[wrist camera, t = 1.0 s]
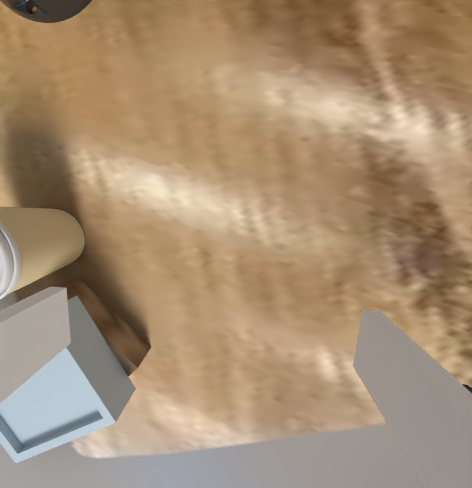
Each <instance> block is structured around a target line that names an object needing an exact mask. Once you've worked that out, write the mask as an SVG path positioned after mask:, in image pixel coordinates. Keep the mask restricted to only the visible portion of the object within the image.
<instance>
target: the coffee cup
mask: <svg viewBox="0 0 472 488" xmlns="http://www.w3.org/2000/svg"><path fill="white" fill-rule="evenodd" d="M84 244H85V237H84V233H83V230H82V227H81V226H80V224H79V223H78V221H77V220H76V219H75V218H74V217H73V216H72V215H70V214H69V213H67V212H65V211H62V210H59V209H50V208H18V207H0V299H1V298H3V297H4V296H6V295H7V294H9V293H11V292H13V291H15V290H18V289H20V288H22V287H24V286H26V285H28V284H30V283H32V282H34V281H36V280H38V279H40V278H42V277H44V276H46V275H48V274H50V273H52V272H55V271H57V270H59V269H61V268H63V267H65V266H66V265H68V264H70V263H72V262H74V261H75V260H76V259H77V258H78V257H79V256H80V255H81V253H82V251H83V249H84Z"/></svg>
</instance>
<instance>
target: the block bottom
mask: <svg viewBox="0 0 472 488" xmlns="http://www.w3.org/2000/svg"><path fill="white" fill-rule="evenodd" d="M61 287H63V288H67V300H69V299H71V298H73V297H75V296H78V298H79V299H80V301H81V303H82V304H83V306H84V307H85V309H86V310H87V312H88V314H89V315H90V317H91V318H92V320H93V322H94V323H95V325H96V326H97V328H98V330H99V331H100V333H101V334H102V336H103V337H104V339H105V341H106V342H107V344H108V345H109V347H110V349H111V350H112V352H113V353H114V355H115V357H116V358H117V360H118V361H119V363H120V364H121V366H122V368H123V369H124V371H125V372H126V374H127V376H129V375H130V374H131V373H133V372H134V371H135V370H136V369H137V368H138V367H139V365H140V364H141V362H142V361H143V359H144V357H145V356H146V354H147V353H148V351H149V350H150V348H151V347H150V346H149V345H148V344H147V343H146V342H145V341H144V340H143V339H142V338H141V337H140V336H139V335H138V334H137V333H136V332H135V331H133V330H132V329H131V328H130V327H129V326H128V325H127V324H126V323H125V322H124V321H123V320H122V319H121V318H120V317H119V316H118V315H117V314H116V313H115V312H114V311H112V310H111V309H110V308H109V307H108V306H107V305H106V304H105V303H104V302H103V301H102V300H101V299H100V298H99V297H98V296H97V295H96V294H95V293H94V292H93V291H92V290H90V289H89V288H88V287H87V286H86V285H85V284H84V283H83V282H82V281H81V280H80V279H79V278H77V279H75V280H73V281H71V282H69V283H67V284H65V285H63V286H61Z"/></svg>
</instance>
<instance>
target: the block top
mask: <svg viewBox="0 0 472 488" xmlns="http://www.w3.org/2000/svg"><path fill="white" fill-rule="evenodd" d="M67 301H68V313H69V326H70V338H71V343H70V344H69V345H68V346H67V347H66V348H64V349H63V350H62V351H61V352H60V353H59V354H57V355H56V356H55V357H54V358H53V359H52V360H50V361H49V362H48V363H47V364H46V365H45V366H43V367H42V368H41V369H40V370H39V371H37V372H36V373H35V374H34V375H33V376H32V377H30V378H29V379H28V380H27V381H26V382H25V383H23V384H22V385H21V386H20V387H19V388H18V389H16V390H15V391H14V392H13V393H12V394H11V395H9V396H8V397H7V398H6V399H5V400H4V401H2V402H1V403H0V443H1V445H2V446H3V447H4V449H5V450H6V451H7V453H8V454H9V455H10V457H11V458H12V459H13V461H14V462H15V463H18V462H20V461H22V460H25V459H27V458H30V457H32V456H35V455H37V454H40V453H42V452H45V451H47V450H49V449H52V448H54V447H57V446H59V445H62V444H64V443H67V442H69V441H71V440H74V439H76V438H79V437H81V436H84V435H86V434H89V433H91V432H93V431H96V430H98V429H101V428H103V427H106V426H108V425H111V424H113V423H115V422H116V421H117V419H118V418H119V416H120V414H121V413H122V411H123V409H124V407H125V406H126V404H127V402H128V401H129V399H130V397H131V396H132V394H133V392H134V390H135V389H136V388H135V387H134V385H133V384H132V382H131V380H130V379H129V377H128V376H127V374H126V372H125V371H124V369H123V368H122V366H121V364H120V363H119V361H118V360H117V358H116V357H115V355H114V353H113V352H112V350H111V349H110V347H109V345H108V344H107V342H106V341H105V339H104V337H103V336H102V334H101V333H100V331H99V330H98V328H97V326H96V325H95V323H94V322H93V320H92V318H91V317H90V315H89V314H88V312H87V310H86V309H85V307H84V306H83V304H82V303H81V301H80V299H79V298H78V296H75V297H73V298H71V299H69V300H67Z"/></svg>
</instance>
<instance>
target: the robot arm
mask: <svg viewBox="0 0 472 488" xmlns="http://www.w3.org/2000/svg"><path fill="white" fill-rule="evenodd" d="M1 1H2V2H3V3H4V4H5V5H6V6H7V7H8V8H10V9H11V10H12V11H14V12H15V13H17V14H18V15H20V16H22V17H24V18H27V19H29V20H32V21H36V22H42V23H54V22H60V21H63V20H66V19H69V18H71V17H73V16H75V15H76V14H78V13H79V12H81V11H82V10H83V9H84V8H85V7H86V6H87V5H88V4H89V3H90V2H91V0H1ZM33 7H37V11H36V13H34V14H32V9H33ZM70 343H71V338H70V326H69V313H68V301H67V288H63V287H48V288H46V289H44V290H42V291H40V292H38V293H35V294H33V295H31V296H29V297H27V298H25V299H23V300H21V301H19V302H17V303H15V304H13V305H10V306H9V307H6V308H4V309H2V310H0V403H1V402H2V401H4V400H5V399H6V398H7V397H8V396H9V395H11V394H12V393H13V392H14V391H15V390H16V389H18V388H19V387H20V386H21V385H22V384H23V383H25V382H26V381H27V380H28V379H29V378H30V377H32V376H33V375H34V374H35V373H36V372H37V371H39V370H40V369H41V368H42V367H43V366H45V365H46V364H47V363H48V362H49V361H50V360H52V359H53V358H54V357H55V356H56V355H57V354H59V353H60V352H61V351H62V350H63V349H64V348H66V347H67V346H68V345H69V344H70ZM353 367H354V368H355V370H356V372H357V373H358V375H359V377H360V378H361V380H362V382H363V383H364V385H365V387H366V388H367V390H368V392H369V393H370V395H371V397H372V398H373V400H374V402H375V403H376V405H377V407H378V408H379V410H380V412H381V413H382V415H383V417H384V418H385V420H386V422H387V423H388V425H389V427H390V428H391V430H392V432H393V433H394V435H395V437H396V438H397V440H398V442H399V443H400V445H401V447H402V448H403V450H404V452H405V453H406V455H407V457H408V458H409V460H410V462H411V463H412V465H413V467H414V468H415V470H416V472H417V473H418V475H419V477H420V478H421V480H422V482H423V483H424V485H425V487H426V488H472V388H471V387H470V386H468V385H464V384H461V383H460V382H459V381H457V380H456V379H455V378H454V377H453V376H452V375H451V374H450V373H449V372H447V371H446V370H445V369H444V368H443V367H442V366H441V365H440V364H439V363H438V362H436V361H435V360H434V359H433V358H432V357H431V356H430V355H429V354H428V353H426V352H425V351H424V350H423V349H422V348H421V347H420V346H419V345H418V344H416V343H415V342H414V341H413V340H412V339H411V338H410V337H409V336H408V335H407V334H405V333H404V332H403V331H402V330H401V329H400V328H399V327H398V326H397V325H395V324H394V323H393V322H392V321H391V320H390V319H389V318H388V317H387V316H386V315H384V314H383V313H382V312H381V311H373V310H362V316H361V322H360V328H359V334H358V340H357V345H356V351H355V357H354V363H353Z"/></svg>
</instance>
